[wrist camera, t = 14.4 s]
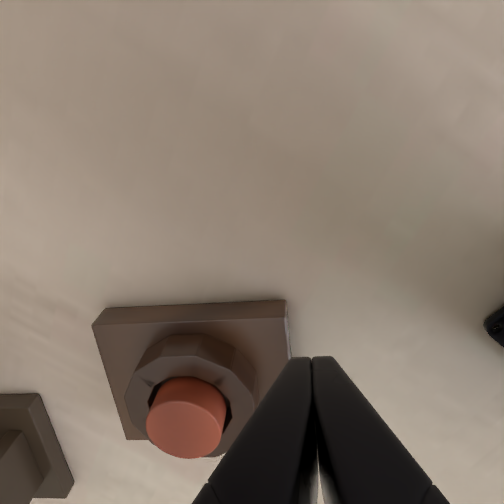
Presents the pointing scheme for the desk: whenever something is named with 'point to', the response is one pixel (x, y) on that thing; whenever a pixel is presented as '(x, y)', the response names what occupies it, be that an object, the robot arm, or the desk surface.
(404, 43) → the desk surface
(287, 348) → the button plate
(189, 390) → the release button
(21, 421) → the lock bracket
